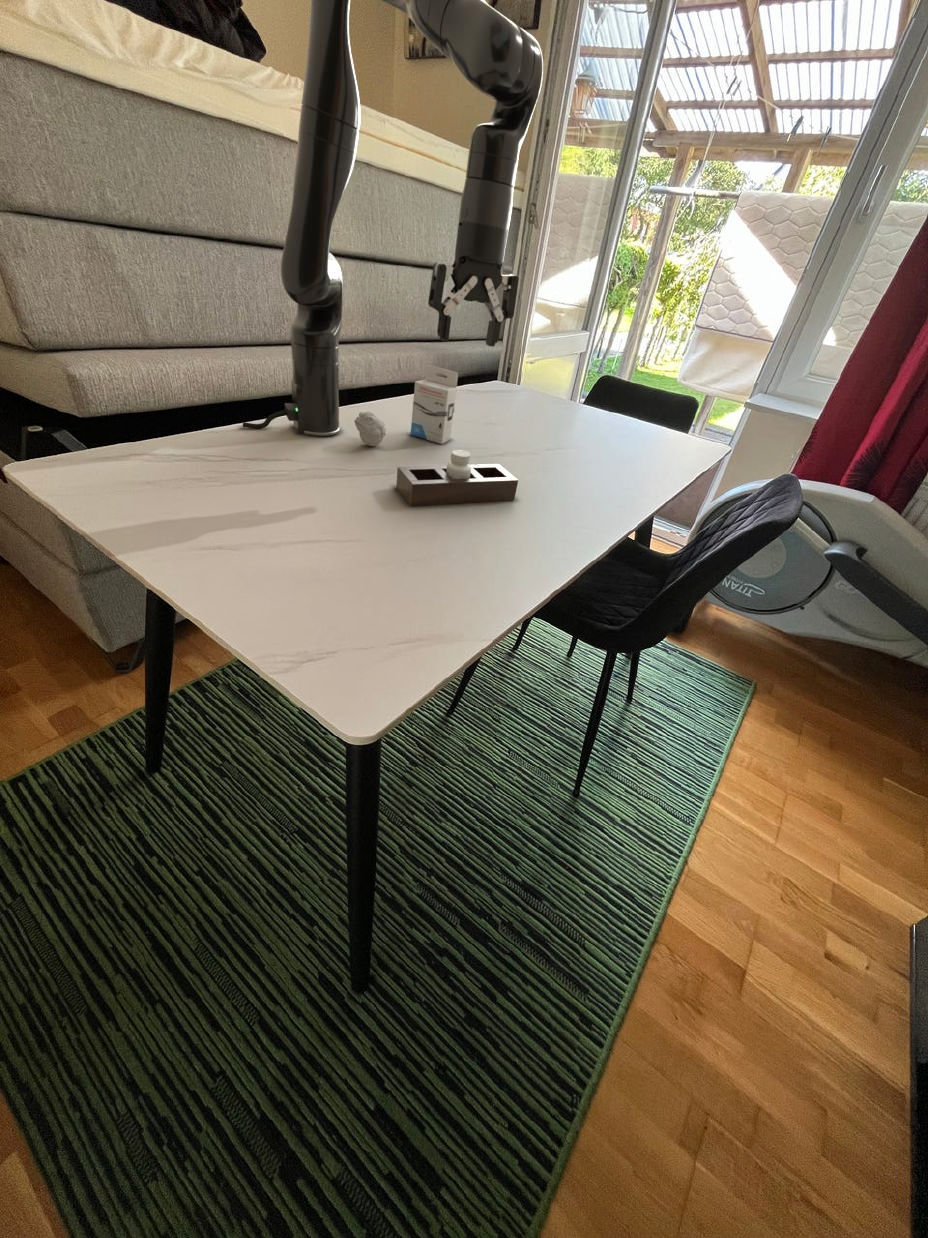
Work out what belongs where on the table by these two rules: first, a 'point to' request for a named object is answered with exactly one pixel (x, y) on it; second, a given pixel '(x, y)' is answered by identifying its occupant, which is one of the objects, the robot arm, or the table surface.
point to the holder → (455, 485)
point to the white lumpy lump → (370, 428)
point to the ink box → (434, 405)
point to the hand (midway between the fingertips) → (467, 343)
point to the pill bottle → (459, 465)
